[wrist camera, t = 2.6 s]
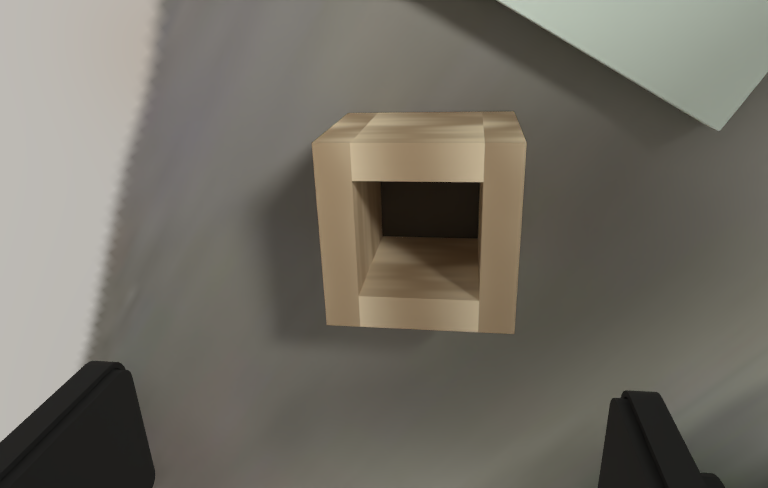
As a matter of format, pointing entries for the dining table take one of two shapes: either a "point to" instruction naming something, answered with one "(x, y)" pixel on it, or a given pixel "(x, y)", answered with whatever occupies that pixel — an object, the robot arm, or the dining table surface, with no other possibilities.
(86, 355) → the dining table surface
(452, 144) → the maple collar
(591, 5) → the post board
